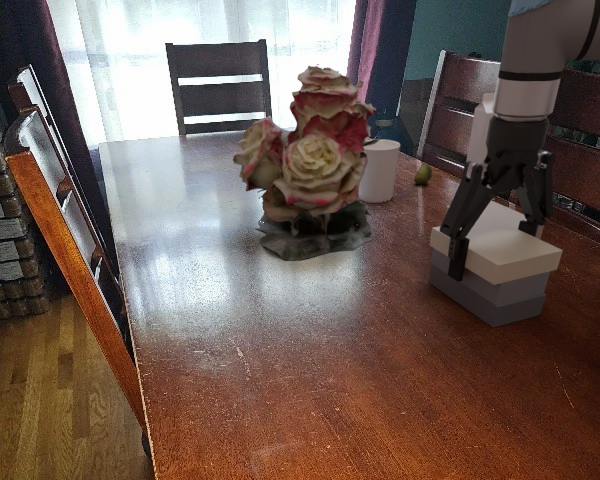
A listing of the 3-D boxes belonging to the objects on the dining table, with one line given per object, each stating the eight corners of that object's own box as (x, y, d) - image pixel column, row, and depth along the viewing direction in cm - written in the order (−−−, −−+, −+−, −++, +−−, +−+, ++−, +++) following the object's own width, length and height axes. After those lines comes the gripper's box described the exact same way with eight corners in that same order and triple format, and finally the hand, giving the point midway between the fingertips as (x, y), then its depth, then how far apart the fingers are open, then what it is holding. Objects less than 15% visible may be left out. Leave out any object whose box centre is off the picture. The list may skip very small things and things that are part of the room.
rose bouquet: (236, 222, 114) (219, 62, 95) (361, 209, 118) (368, 54, 100) (251, 269, 95) (233, 80, 76) (400, 252, 99) (419, 69, 80)
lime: (413, 186, 131) (416, 166, 128) (412, 181, 134) (415, 161, 131) (431, 187, 130) (434, 166, 127) (430, 181, 134) (432, 161, 131)
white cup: (391, 205, 120) (396, 150, 112) (351, 202, 123) (352, 148, 115) (399, 193, 127) (403, 140, 120) (360, 190, 130) (362, 138, 122)
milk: (460, 196, 124) (476, 91, 110) (484, 194, 125) (503, 89, 111) (470, 203, 119) (489, 95, 106) (494, 201, 120) (516, 93, 106)
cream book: (557, 269, 75) (563, 250, 73) (493, 285, 72) (498, 265, 70) (486, 233, 87) (490, 215, 85) (429, 245, 83) (431, 227, 82)
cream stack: (537, 255, 96) (546, 223, 92) (494, 265, 93) (501, 233, 89) (481, 227, 108) (487, 198, 104) (441, 235, 105) (446, 206, 101)
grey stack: (540, 314, 79) (553, 272, 74) (492, 327, 76) (503, 284, 72) (470, 272, 91) (478, 233, 87) (428, 282, 89) (433, 243, 84)
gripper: (568, 102, 73) (529, 248, 87) (427, 120, 66) (409, 275, 80) (611, 110, 68) (563, 265, 81) (462, 131, 61) (437, 295, 75)
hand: (486, 270), depth 81 cm, fingers closed on cream book, 11 cm apart
